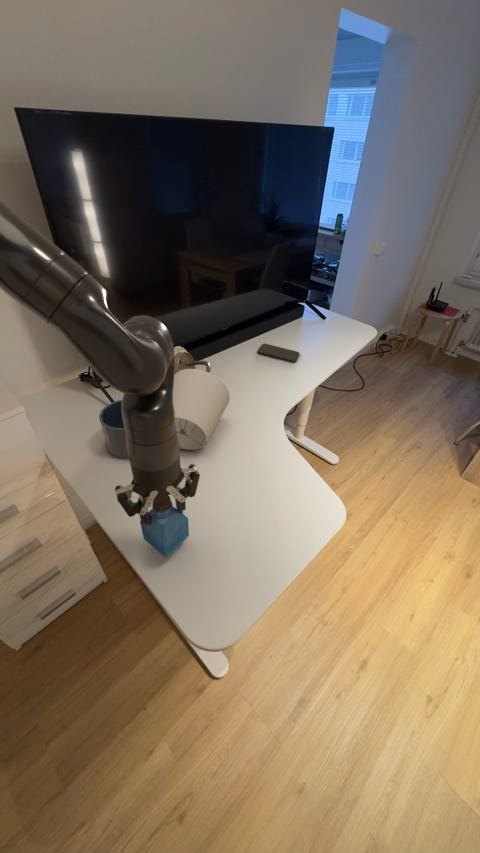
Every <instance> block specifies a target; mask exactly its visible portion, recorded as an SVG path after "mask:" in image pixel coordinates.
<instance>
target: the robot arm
mask: <svg viewBox="0 0 480 853" xmlns="http://www.w3.org/2000/svg"><path fill="white" fill-rule="evenodd" d="M0 290H2V291H3V293H5V294H6V295H8V296H9V297H10V298H11V299H13V300H14V301H15V302H17V303H18V304H19V305H20V306H22V307H24V308H25V309H26V310H27V311H29V312H30V313H31V314H33V315H34V316H35V317H37V318H38V319H40V320H41V321H43V322H44V323H45V324H48V326H49V327H51V328H52V329H54V330H55V331H57V332H59V333H60V334H61V335H62V337H63V338H64V339H65V340H66V341H67V342H68V344H69V345H70V346H71V347H72V349H73V350H74V352H76V353H77V354H78V355H79V357H80V358H81V359H82V360H83V361H84V362H85V363H86V364H87V365H88V367H90V369H92V371H93V372H94V373H95V374H96V375H97V376H98V377H99V378H100V379H101V380H102V381H103V382H105V383H106V384H107V385H108V386H110V387H111V388H113V389H114V390H116V391H119V392H121V393H123V395H122V399H121V400H122V403H121V413H122V419H123V424H124V429H125V433H126V446H127V451H128V458H129V459H128V460H129V465H130V470H131V474H132V479H131V483H130V484H127V485H126V486H123V485H122V484H119V485H116V486H115V487H114V491H115V495H116V500H117V501H118V503H119V505H120V506H121V507H122V509H123V511H124V512H125V513H126V515H127V516H128V517H130V518H132V517H134V516H136V514H137V515H139V519H140V521H141V522H142V523H143V524H145V523H146V525H150V519H149V514H148V512H149V511H148V510H149V508H151V507H152V504H153V501H154V499H157V498H159V497H162V496H167V495H169V496H170V495H171V497H172V498H174V501H175V508H176V509H177V510H179V513H180V514H184V511H185V510H186V508H187V506H186V501H187V498H194V497H195V496H196V494H197V490H198V485H199V481H200V477H201V474H200V472H199V470H198V468H197V466H196V464H195V463H190V464H189V466H188V468H182V467H181V466H182V465H181V456H180V455H181V453H180V449H181V448H180V444H179V440H178V434H177V430H176V422H175V411H174V405H173V385H174V367H175V351H174V347H175V344H174V340H173V339H174V338H173V337H172V334H171V332H170V330H169V329H168V327H167V326H166V325H165V324H164V323H163V322H162V321H161V320H159V319H158V318H156V317H153V316H151V315H148V314H147V315H145V314H139V315H135V316H132V317H129V318H128V319H126V320H125V321H124V322H123V323H121V321H120V320H118V318H117V317H116V316H115V315H114V314H113V313H112V311H111V310H110V308H109V293H108V291H107V289H106V287H104V285H103V284H102V283H101V282H99V280H98V279H97V278H95V276H94V275H92V274H90V273H89V272H88V271H87V270H86V269H85V268H84V267H83V266H81V265H80V264H79V263H78V262H77V261H75V260H74V259H73V258H72V257H71V256H69V254H67V253H66V252H65V251H64V250H63V249H61V248H60V247H59V246H58V245H57V244H55V243H54V242H53V241H52V240H51V239H50V238H48V237H47V236H46V235H44V233H42V232H41V231H39V229H37V228H36V227H35V226H33V225H32V224H31V223H30V222H29V221H28V220H26V219H25V218H24V217H23V216H22V215H20V214H19V213H18V212H17V211H16V210H14V209H13V208H12V207H10V206H9V205H8V204H7V203H6V202H5V201H3V200H2V199H1V198H0ZM184 478H185V483H184V487H181V486H180V483H182V481H183V480H184ZM133 493H135V494H137V495H138V497H137V500H136V502H133V500H132V499H131V498H132V494H133Z"/></svg>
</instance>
